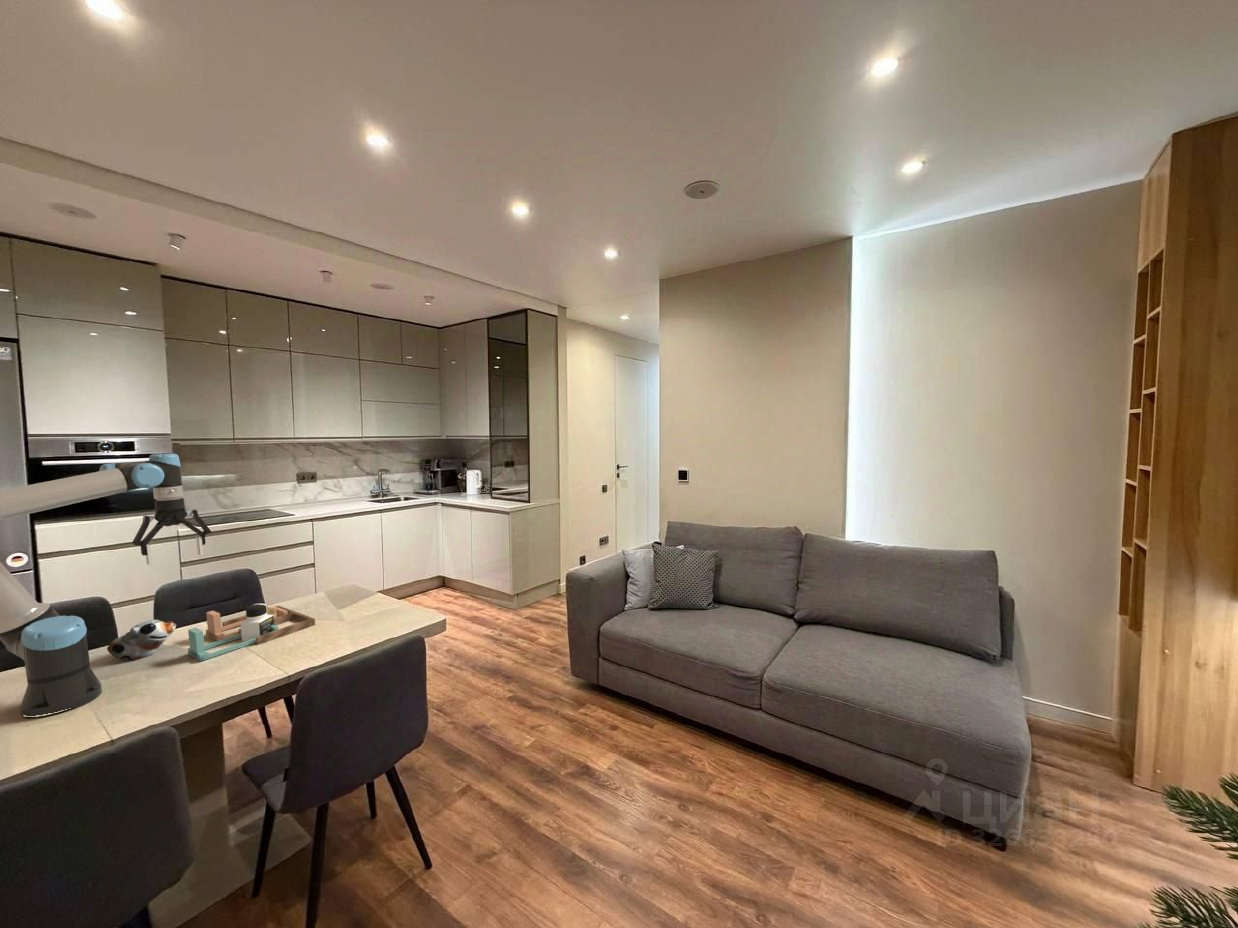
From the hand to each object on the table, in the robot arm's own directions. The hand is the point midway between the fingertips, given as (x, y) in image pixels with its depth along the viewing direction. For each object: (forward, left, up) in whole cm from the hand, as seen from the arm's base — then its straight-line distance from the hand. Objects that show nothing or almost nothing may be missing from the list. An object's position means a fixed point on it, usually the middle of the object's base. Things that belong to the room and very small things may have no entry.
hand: (175, 559), depth 170 cm
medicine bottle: (+17, -15, -32) cm, 39 cm away
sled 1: (+19, -2, -31) cm, 36 cm away
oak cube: (+25, -2, -31) cm, 40 cm away
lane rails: (+23, -8, -31) cm, 40 cm away
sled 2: (+9, -15, -31) cm, 36 cm away
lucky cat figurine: (-9, +6, -32) cm, 33 cm away
